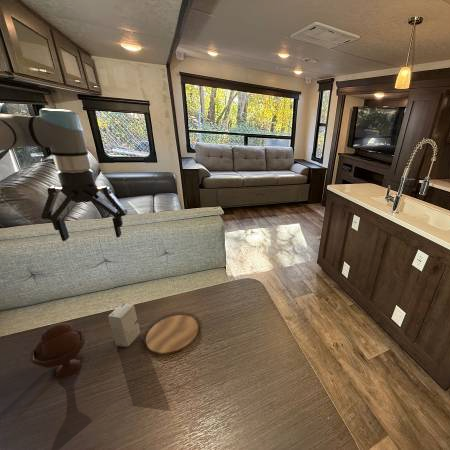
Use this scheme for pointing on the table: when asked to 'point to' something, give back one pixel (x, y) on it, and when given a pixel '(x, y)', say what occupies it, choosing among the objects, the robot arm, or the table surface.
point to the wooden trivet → (172, 334)
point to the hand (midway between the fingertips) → (93, 237)
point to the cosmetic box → (124, 324)
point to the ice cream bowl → (59, 349)
